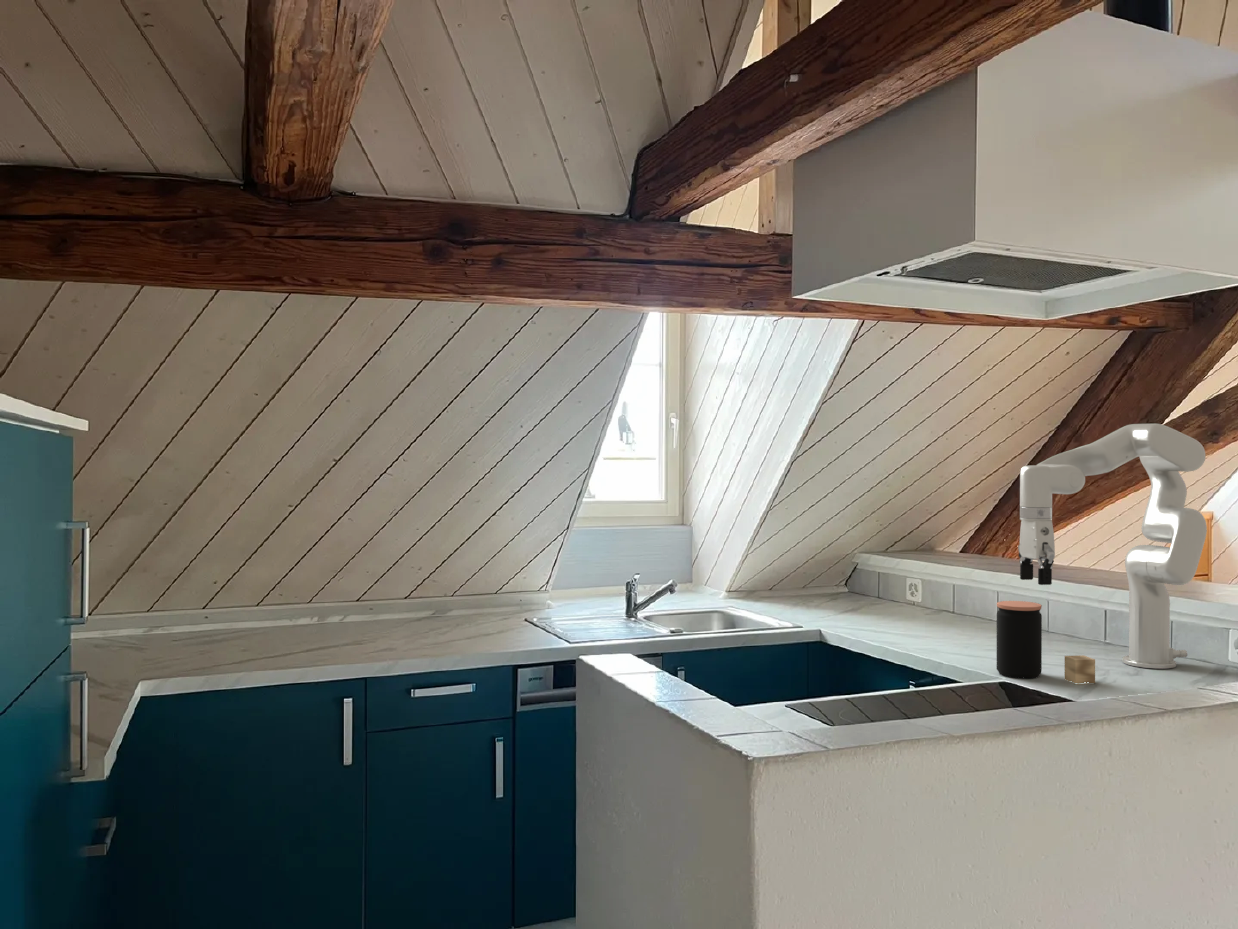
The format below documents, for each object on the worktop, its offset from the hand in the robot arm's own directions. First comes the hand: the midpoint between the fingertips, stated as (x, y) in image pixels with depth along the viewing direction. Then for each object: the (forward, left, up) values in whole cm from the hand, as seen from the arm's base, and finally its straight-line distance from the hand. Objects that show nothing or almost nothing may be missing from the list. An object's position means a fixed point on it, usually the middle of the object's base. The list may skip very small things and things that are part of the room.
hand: (1035, 582), depth 252 cm
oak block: (-7, +7, -24) cm, 26 cm away
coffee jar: (+4, -2, -24) cm, 24 cm away
